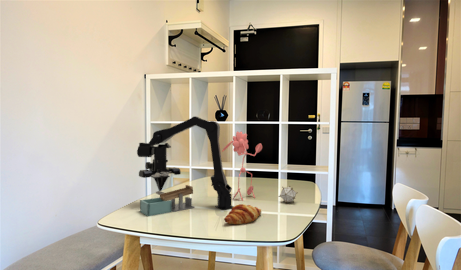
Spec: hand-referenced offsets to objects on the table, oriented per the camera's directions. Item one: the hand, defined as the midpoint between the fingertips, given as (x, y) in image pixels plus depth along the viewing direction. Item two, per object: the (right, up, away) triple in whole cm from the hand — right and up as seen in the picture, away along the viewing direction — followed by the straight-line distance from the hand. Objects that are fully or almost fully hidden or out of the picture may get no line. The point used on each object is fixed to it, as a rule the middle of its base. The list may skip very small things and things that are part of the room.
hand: (160, 190), depth 140 cm
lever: (+6, -1, -1) cm, 6 cm away
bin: (+1, -7, -11) cm, 13 cm away
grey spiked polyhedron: (+62, -7, +7) cm, 62 cm away
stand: (+10, -7, -4) cm, 13 cm away
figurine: (+38, -7, +18) cm, 42 cm away
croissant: (+39, -8, -22) cm, 45 cm away
